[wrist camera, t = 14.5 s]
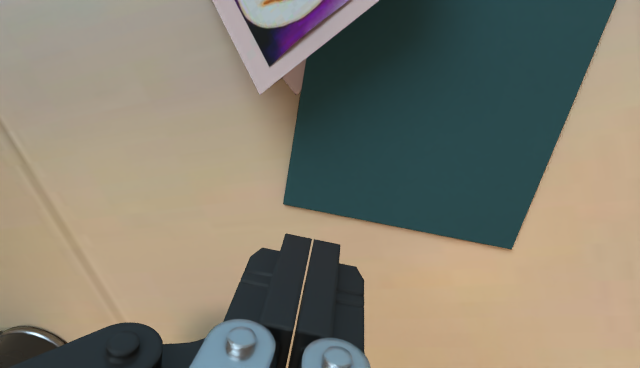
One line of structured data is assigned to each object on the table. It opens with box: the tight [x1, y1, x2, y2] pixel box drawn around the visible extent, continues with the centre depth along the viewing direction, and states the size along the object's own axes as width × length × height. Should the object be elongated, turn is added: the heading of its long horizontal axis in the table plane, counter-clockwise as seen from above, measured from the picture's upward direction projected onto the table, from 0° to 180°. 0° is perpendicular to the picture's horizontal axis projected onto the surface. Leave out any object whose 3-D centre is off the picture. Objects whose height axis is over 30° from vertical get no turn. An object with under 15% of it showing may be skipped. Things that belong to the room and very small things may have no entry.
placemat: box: [283, 0, 616, 249], centre depth 34 cm, size 20×24×1 cm
